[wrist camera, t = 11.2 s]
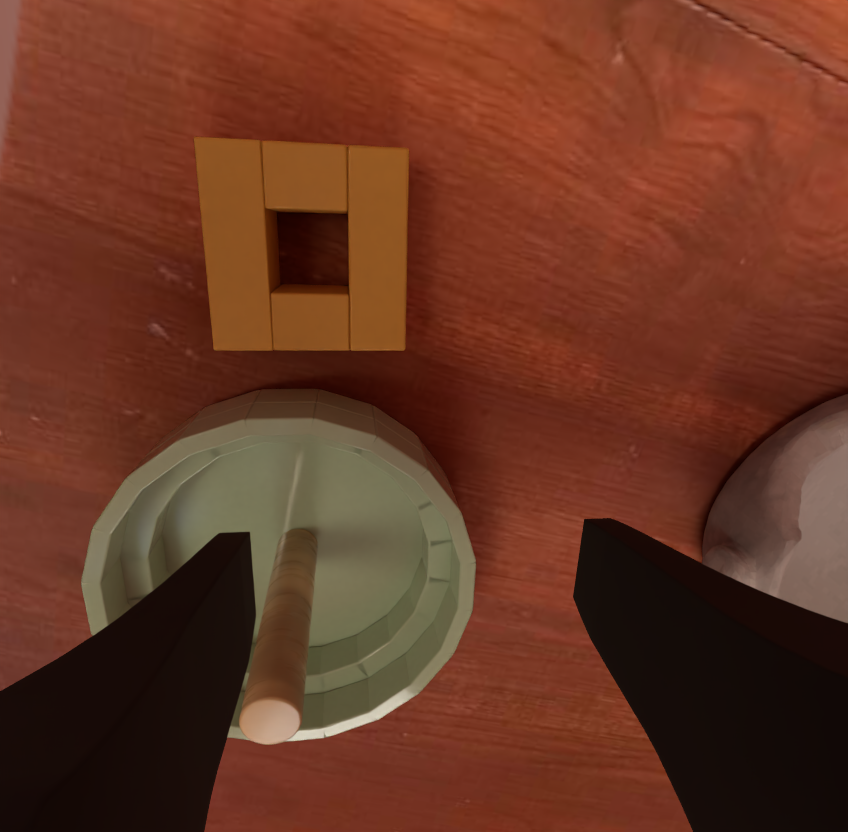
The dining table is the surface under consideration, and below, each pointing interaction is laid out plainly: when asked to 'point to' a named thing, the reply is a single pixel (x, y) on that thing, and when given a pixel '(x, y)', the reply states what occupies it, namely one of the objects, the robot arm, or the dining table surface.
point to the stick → (282, 644)
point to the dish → (789, 514)
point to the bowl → (317, 513)
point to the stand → (259, 252)
